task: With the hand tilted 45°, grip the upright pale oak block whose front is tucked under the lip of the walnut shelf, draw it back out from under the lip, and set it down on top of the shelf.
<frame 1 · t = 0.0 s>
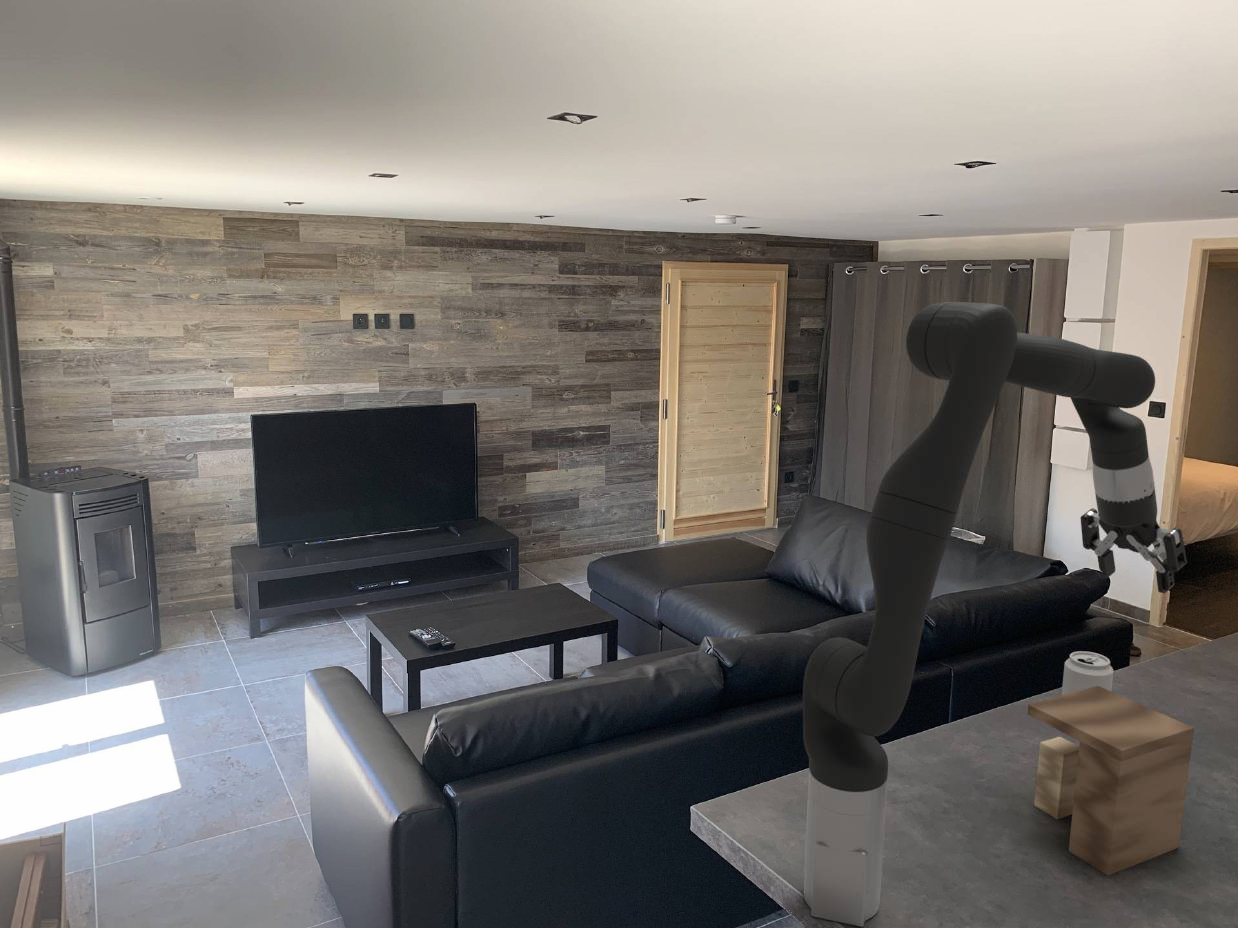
hand: (1136, 581, 143), 31 cm above the counter, tool tilted 20°, fingers open, 8 cm apart
oak block: (1055, 808, 140), on the counter
walnut shelf: (1096, 832, 134), on the counter
can: (1083, 723, 167), on the counter
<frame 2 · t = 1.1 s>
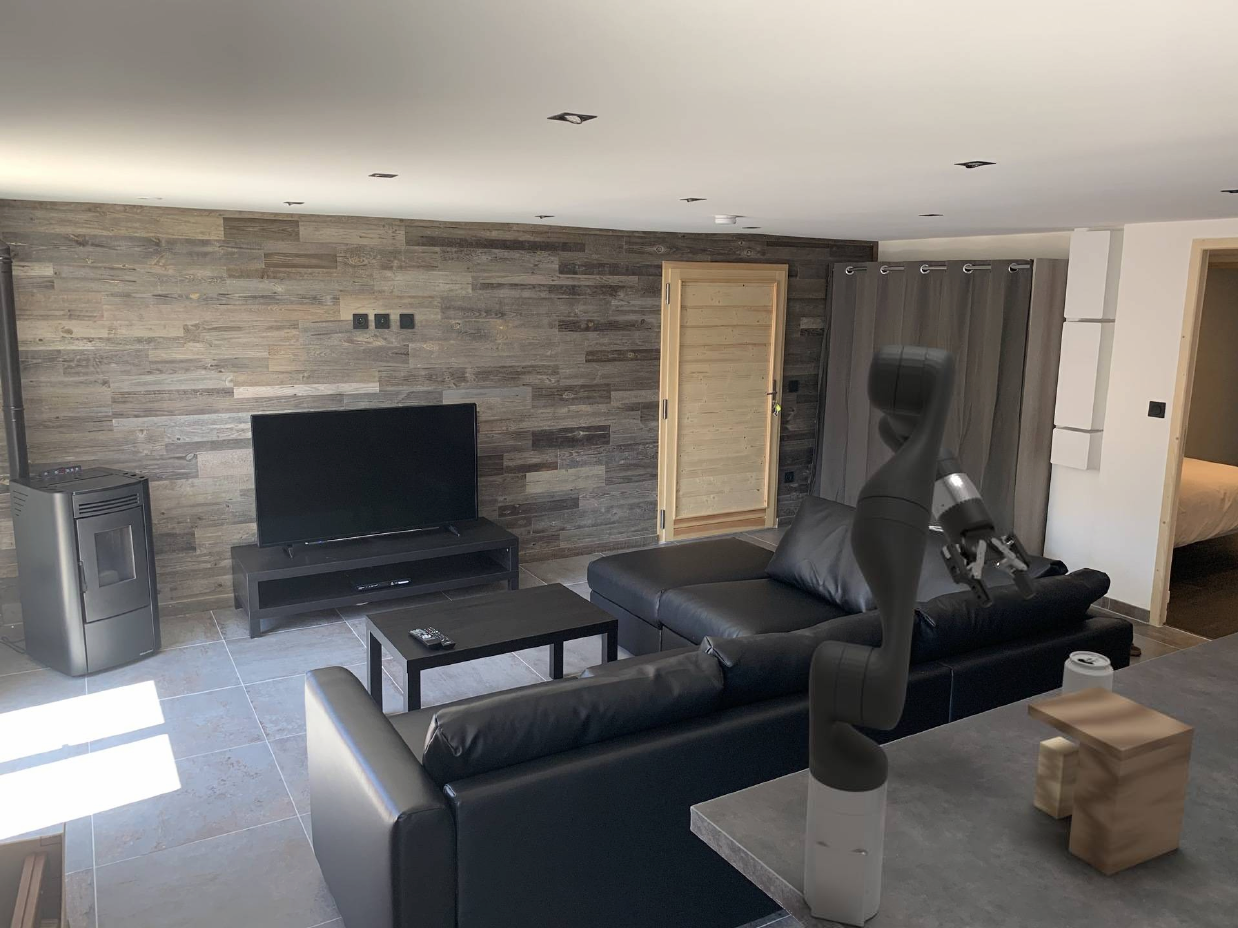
hand: (1010, 600, 145), 28 cm above the counter, tool tilted 45°, fingers open, 8 cm apart
nothing on the counter moved.
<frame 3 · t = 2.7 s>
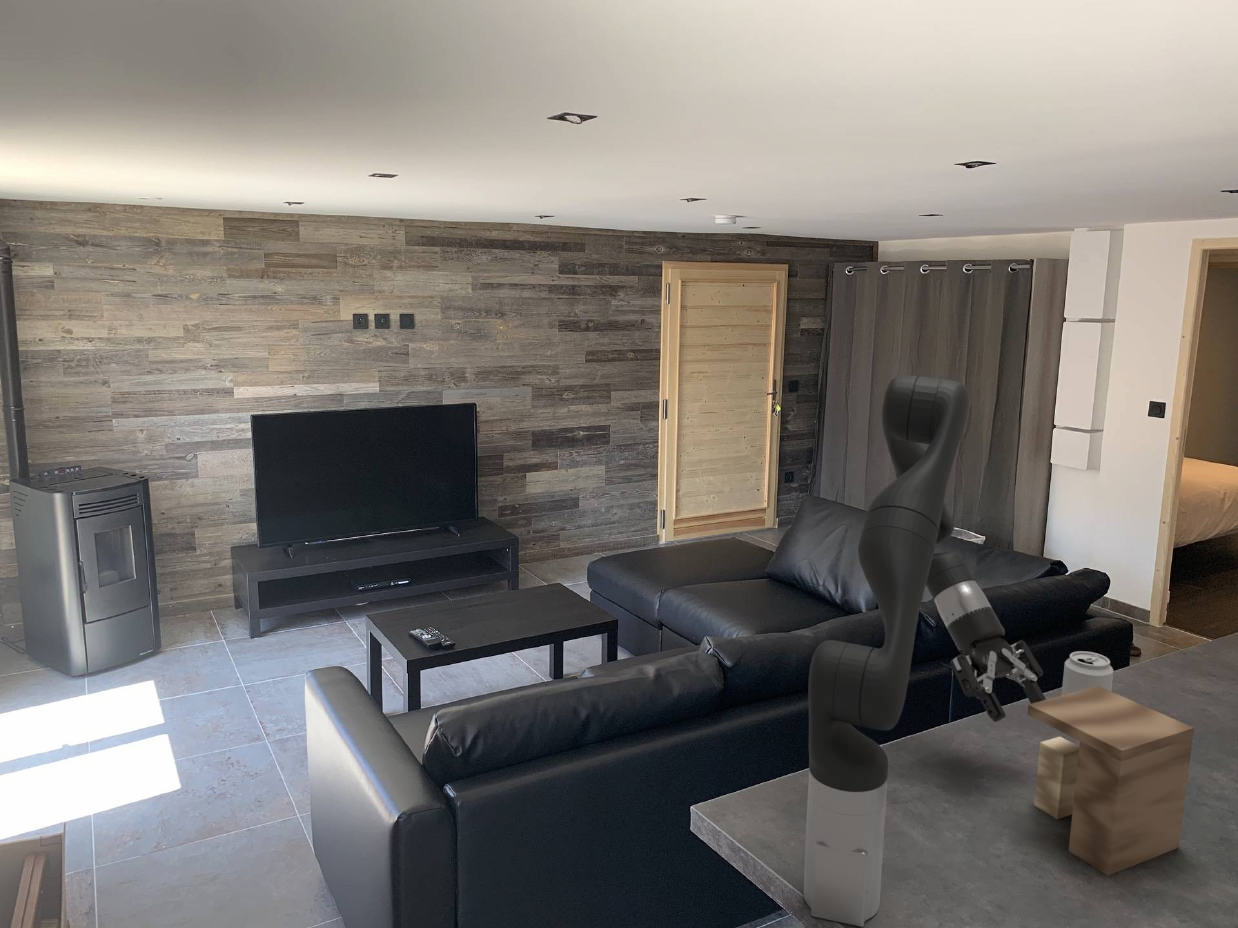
hand: (1021, 713, 144), 12 cm above the counter, tool tilted 45°, fingers open, 8 cm apart
nothing on the counter moved.
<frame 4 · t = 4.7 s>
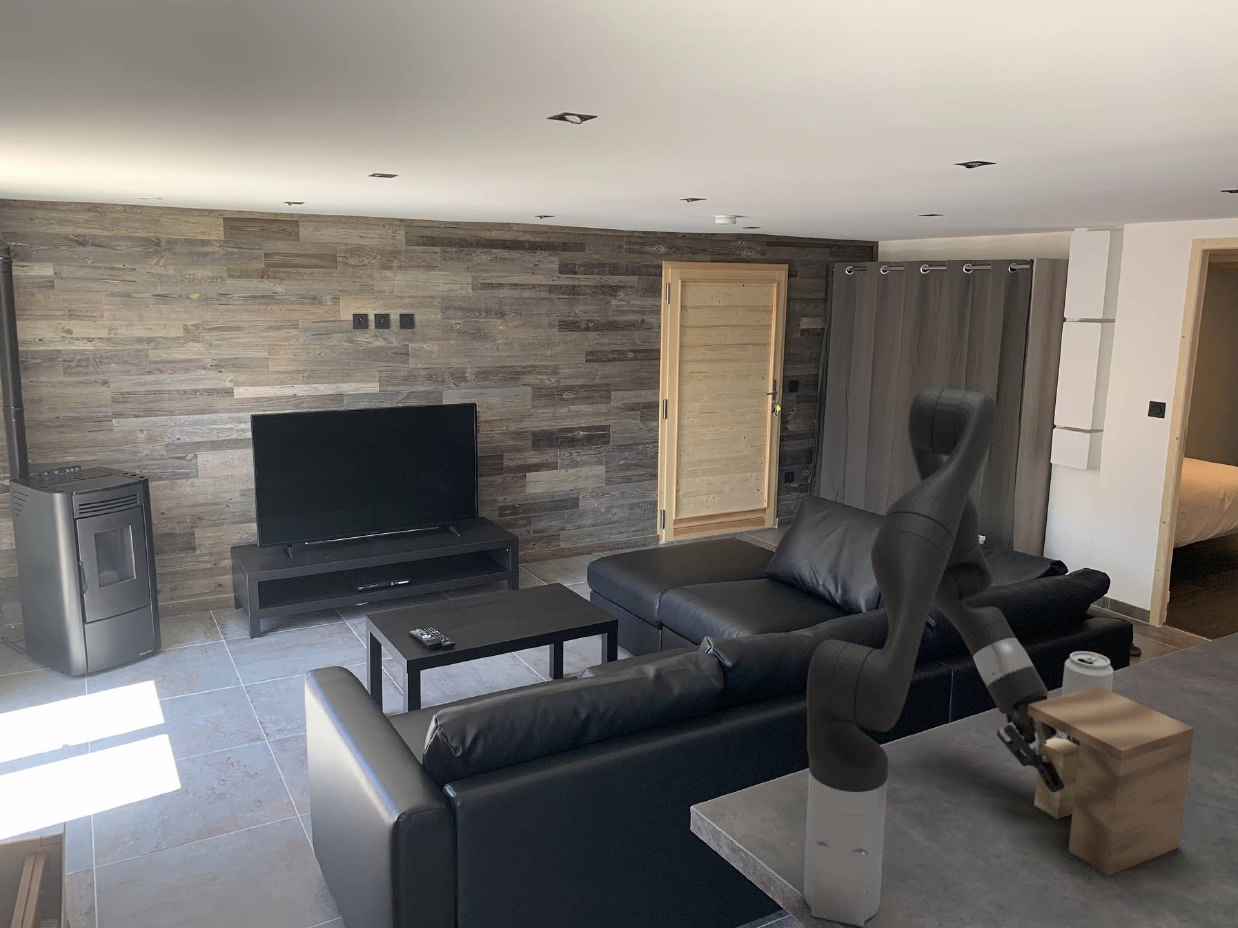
hand: (1069, 786, 138), 5 cm above the counter, tool tilted 45°, fingers closed on oak block, 4 cm apart
oak block: (1055, 808, 140), on the counter, touching gripper
everything else where it was.
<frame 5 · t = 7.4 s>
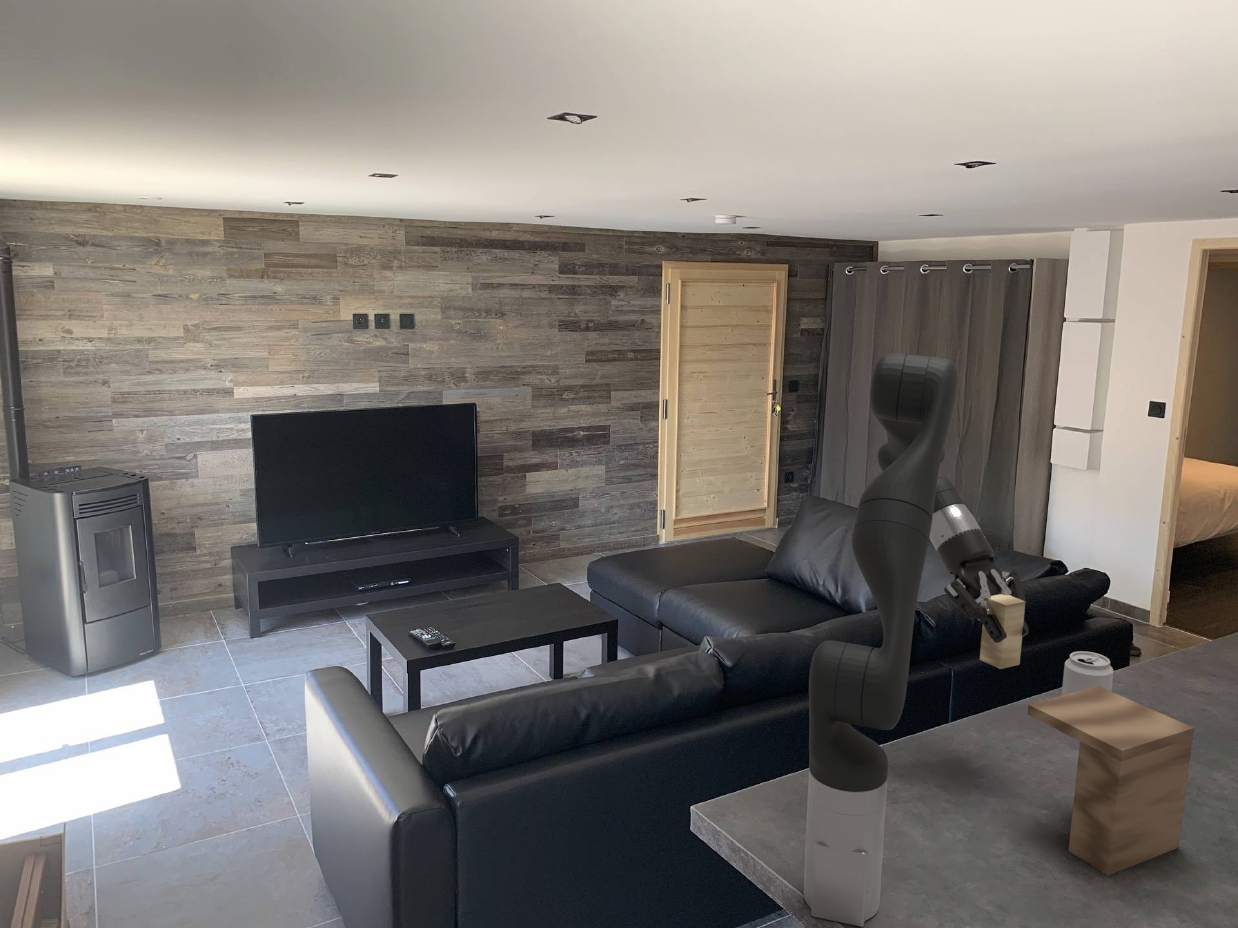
hand: (1012, 637, 145), 23 cm above the counter, tool tilted 45°, fingers closed on oak block, 4 cm apart
oak block: (999, 661, 147), point 18 cm above the counter, touching gripper
everything else where it was.
when the fingers open (23 cm above the counter, at t = 10.3 s): oak block drops 1 cm, resting on walnut shelf.
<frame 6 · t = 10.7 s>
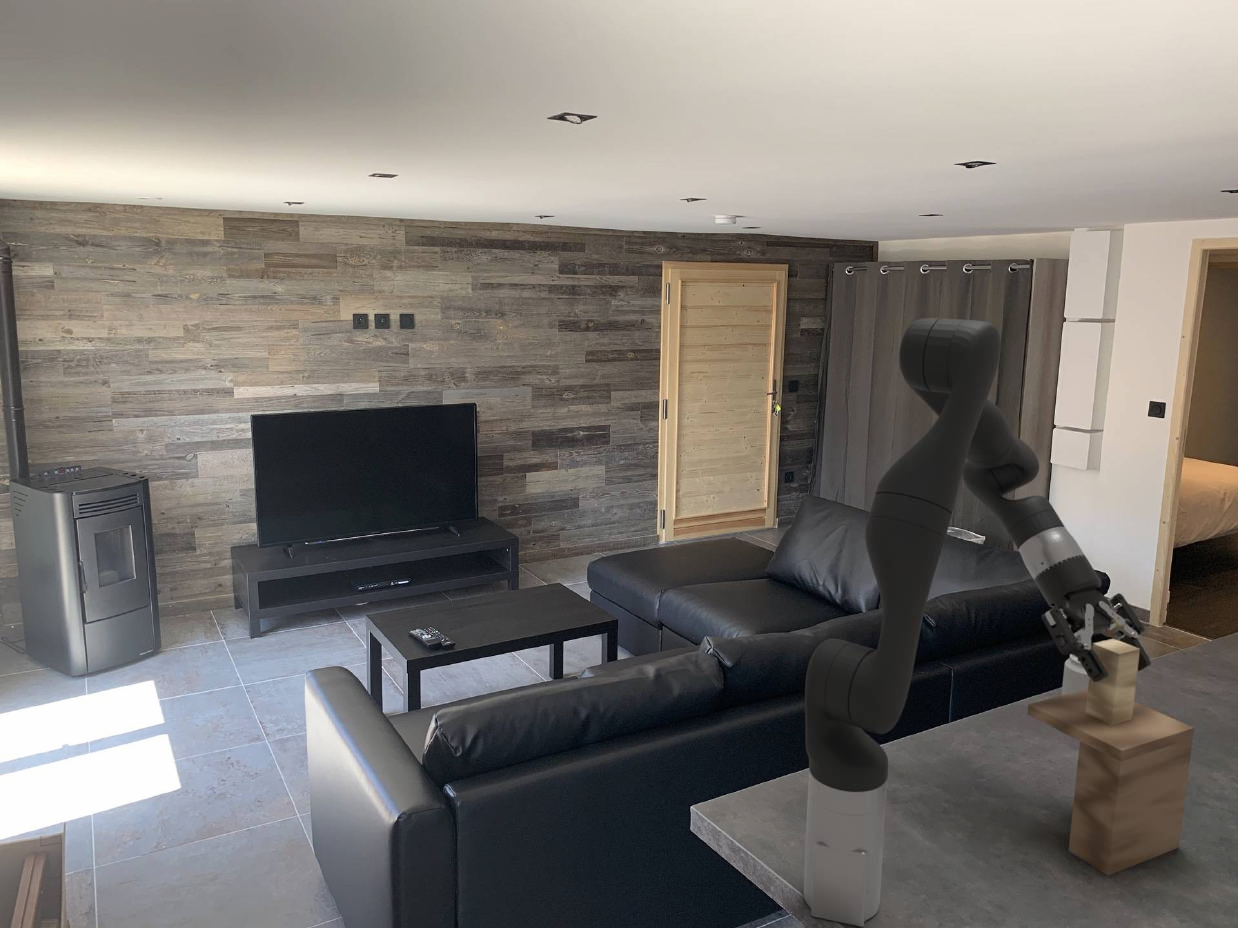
hand: (1123, 673, 128), 24 cm above the counter, tool tilted 45°, fingers open, 8 cm apart
oak block: (1108, 715, 131), point 17 cm above the counter, touching walnut shelf
everything else where it was.
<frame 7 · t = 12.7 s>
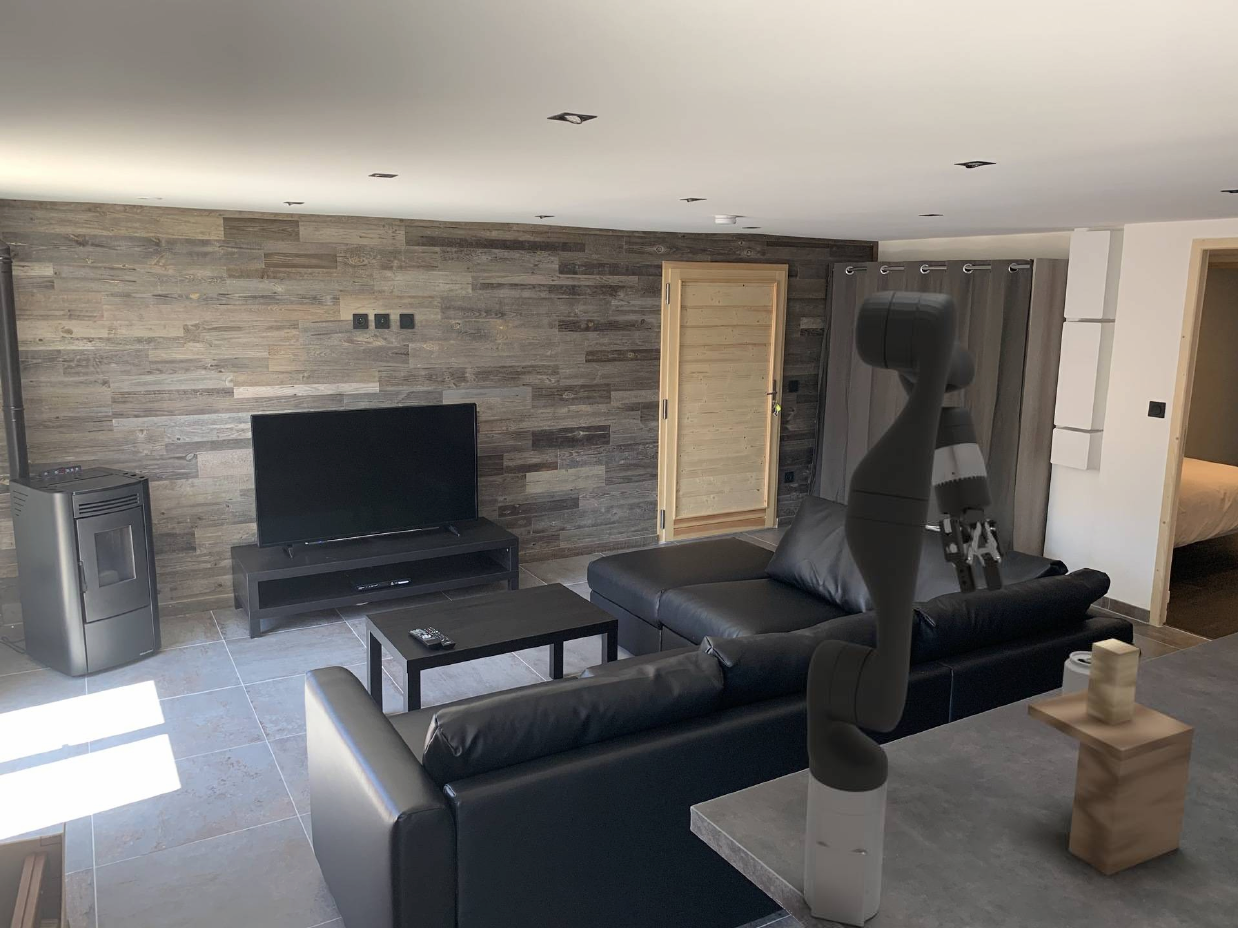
hand: (983, 591, 136), 32 cm above the counter, tool tilted 25°, fingers open, 8 cm apart
nothing on the counter moved.
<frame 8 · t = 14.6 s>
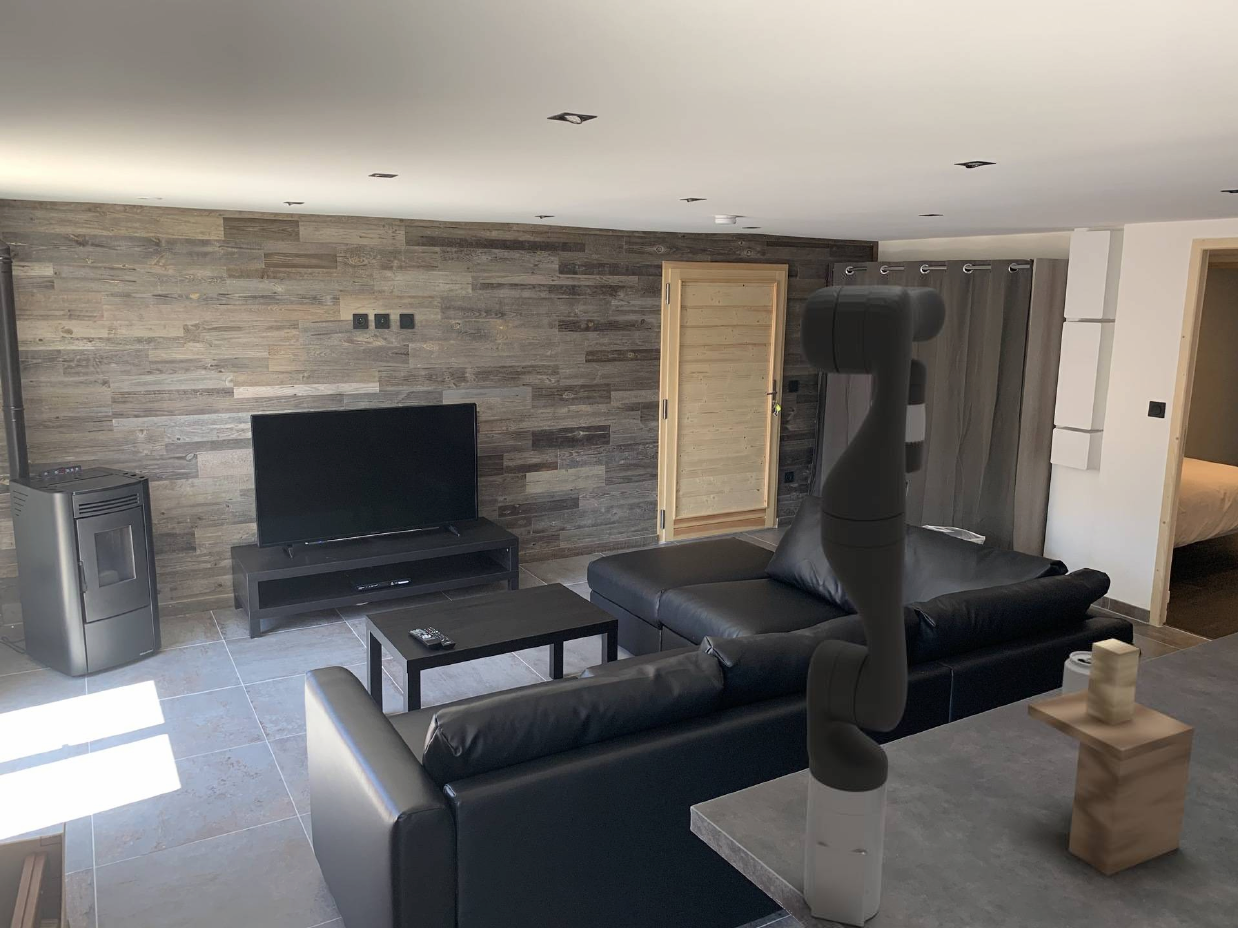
hand: (889, 548, 136), 38 cm above the counter, tool pointing down, fingers open, 8 cm apart
nothing on the counter moved.
at the end: oak block inside the target area on the walnut shelf (0.1 cm from its centre), point 17.5 cm above the walnut shelf's base; oak block tilted 0°; the gripper is holding nothing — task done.
